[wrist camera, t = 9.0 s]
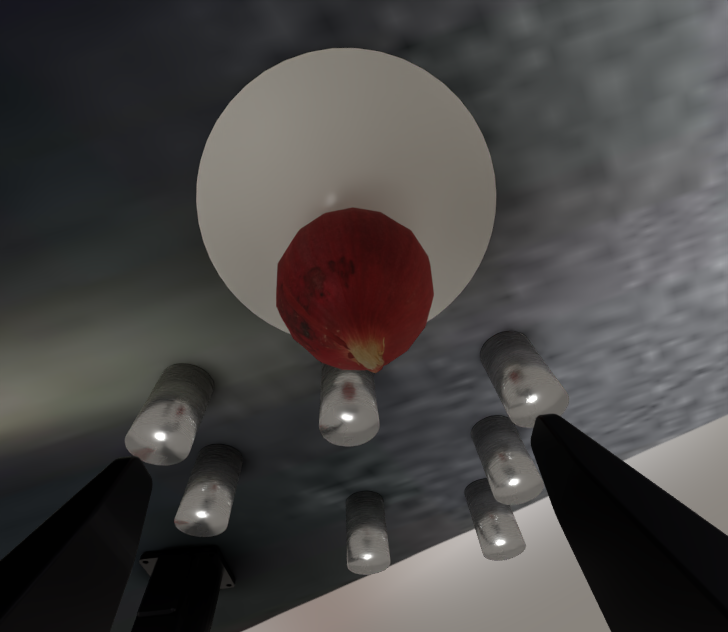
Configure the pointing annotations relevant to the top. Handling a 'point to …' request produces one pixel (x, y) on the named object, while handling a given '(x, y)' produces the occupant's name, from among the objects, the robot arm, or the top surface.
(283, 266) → the onion
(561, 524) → the robot arm
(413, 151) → the plate
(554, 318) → the top surface
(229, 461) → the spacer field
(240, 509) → the top surface
